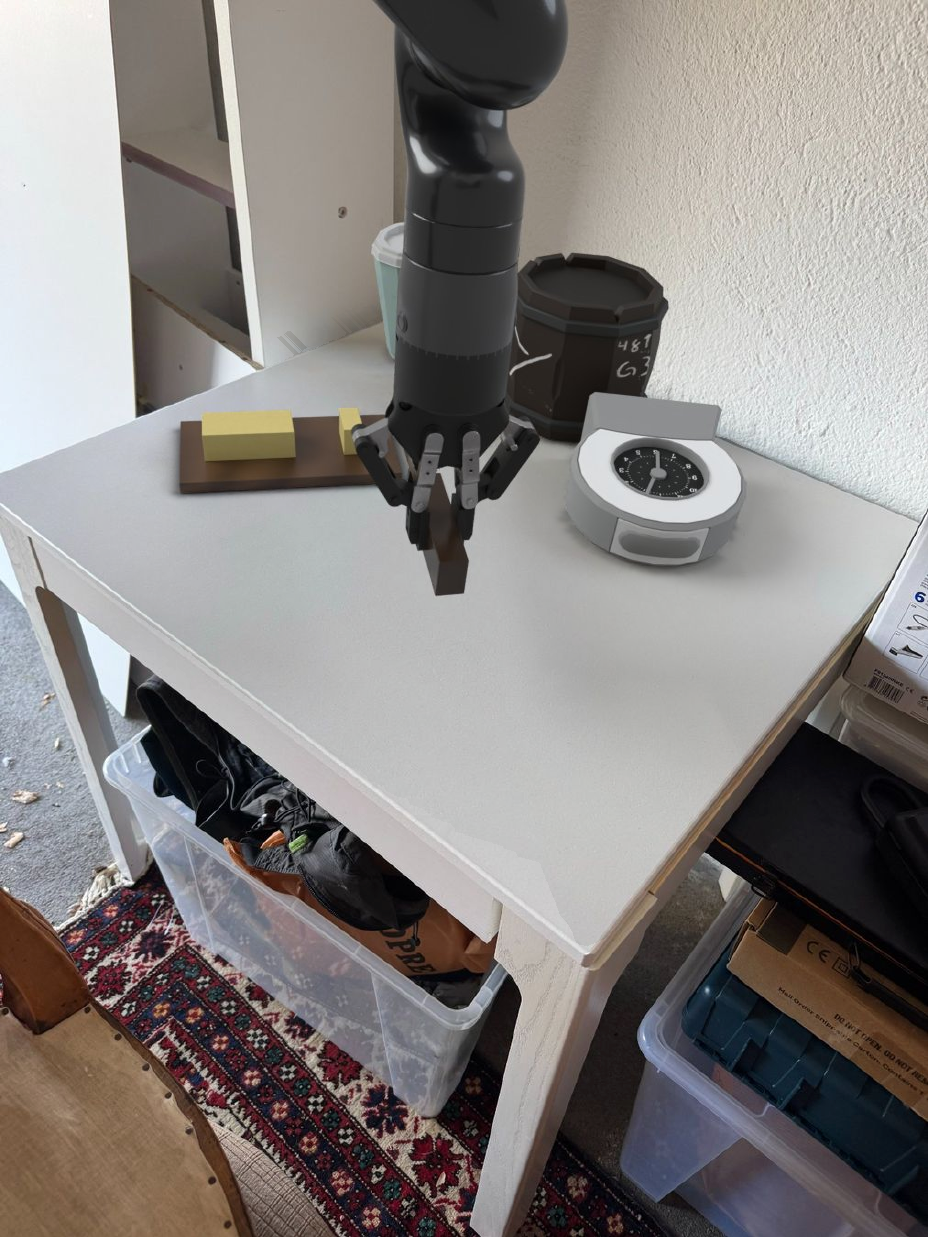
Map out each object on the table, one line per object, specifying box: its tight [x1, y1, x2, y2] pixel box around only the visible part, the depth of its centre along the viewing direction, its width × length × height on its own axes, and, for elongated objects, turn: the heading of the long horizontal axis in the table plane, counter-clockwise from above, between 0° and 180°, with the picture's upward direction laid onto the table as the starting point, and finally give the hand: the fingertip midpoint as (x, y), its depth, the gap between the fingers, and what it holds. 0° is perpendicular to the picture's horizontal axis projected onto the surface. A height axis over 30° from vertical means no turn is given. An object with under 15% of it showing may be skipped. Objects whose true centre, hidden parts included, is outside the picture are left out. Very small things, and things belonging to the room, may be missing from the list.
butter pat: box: [338, 407, 362, 455], centre depth 97 cm, size 2×4×3 cm, turn 12°
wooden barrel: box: [505, 252, 670, 444], centre depth 105 cm, size 18×18×16 cm
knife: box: [402, 448, 470, 597], centre depth 74 cm, size 22×2×3 cm, turn 13°
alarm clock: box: [564, 392, 747, 567], centre depth 93 cm, size 17×9×19 cm
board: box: [178, 413, 403, 494], centre depth 97 cm, size 22×12×1 cm, turn 102°
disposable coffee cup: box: [370, 221, 404, 361], centre depth 113 cm, size 11×11×15 cm
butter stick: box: [201, 409, 295, 461], centre depth 95 cm, size 9×4×3 cm, turn 102°
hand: (437, 542), depth 70 cm, fingers closed on knife, 2 cm apart
